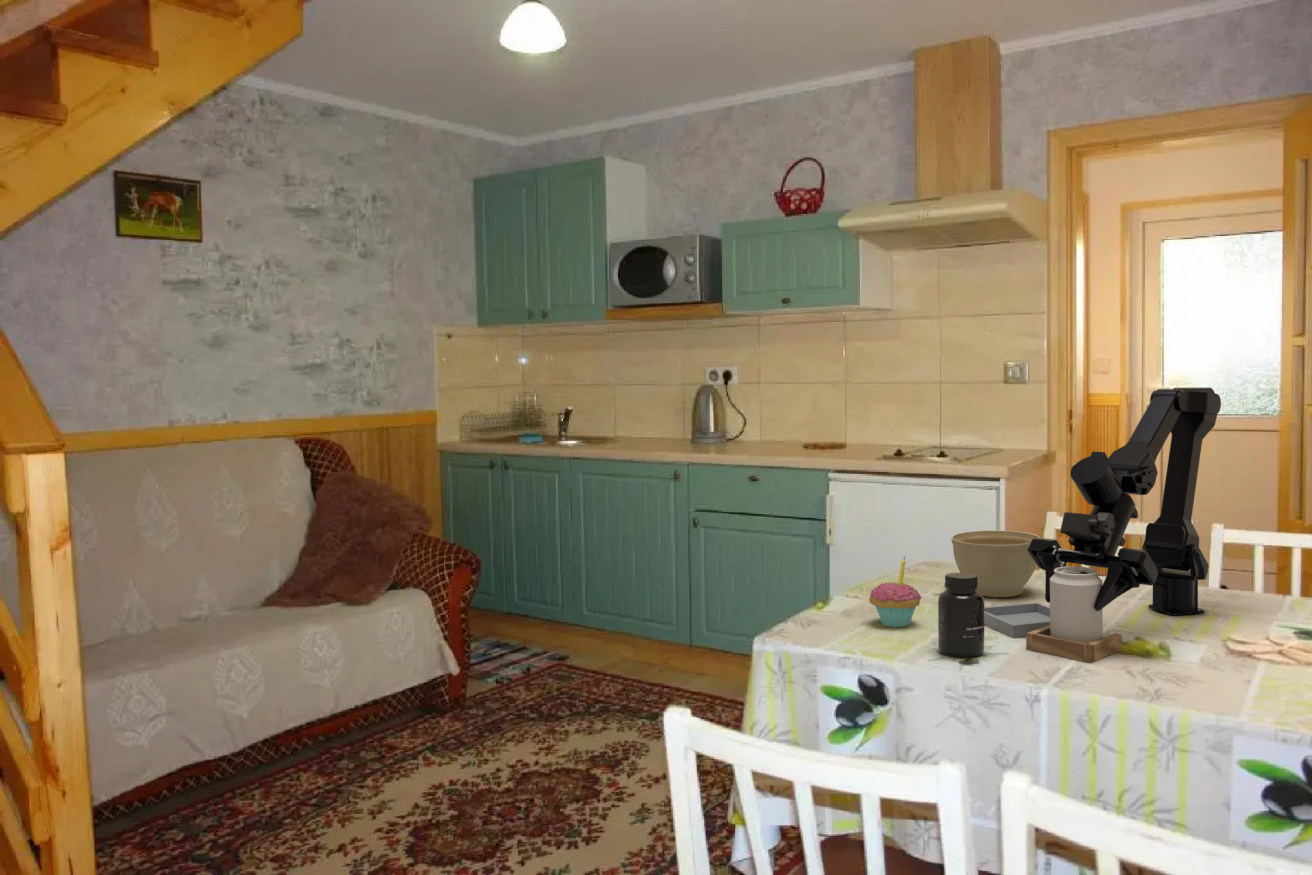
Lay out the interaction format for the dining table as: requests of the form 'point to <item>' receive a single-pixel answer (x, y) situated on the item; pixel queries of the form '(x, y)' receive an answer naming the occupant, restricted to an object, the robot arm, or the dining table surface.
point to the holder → (1073, 645)
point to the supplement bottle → (961, 617)
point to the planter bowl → (995, 560)
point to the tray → (1017, 618)
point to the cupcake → (895, 601)
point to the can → (1075, 604)
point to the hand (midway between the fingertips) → (1071, 605)
